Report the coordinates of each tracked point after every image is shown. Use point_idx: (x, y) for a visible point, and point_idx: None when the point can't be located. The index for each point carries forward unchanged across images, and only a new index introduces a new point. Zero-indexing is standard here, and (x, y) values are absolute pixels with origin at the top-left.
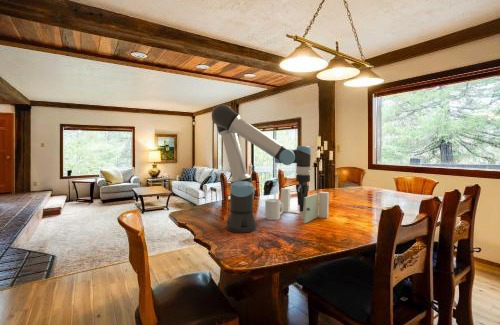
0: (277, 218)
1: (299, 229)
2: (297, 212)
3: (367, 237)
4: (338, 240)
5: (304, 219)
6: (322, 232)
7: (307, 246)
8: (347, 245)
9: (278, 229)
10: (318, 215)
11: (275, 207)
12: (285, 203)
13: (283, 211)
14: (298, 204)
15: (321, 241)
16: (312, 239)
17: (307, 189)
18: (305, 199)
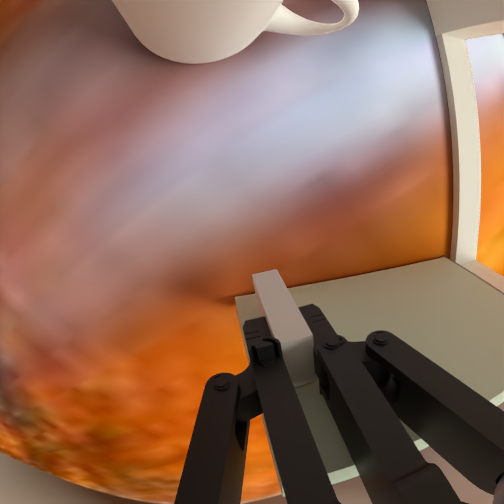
0: (184, 62)
1: (108, 340)
2: (459, 108)
3: (252, 495)
4: (143, 475)
5: (239, 321)
6: (174, 426)
7: (11, 430)
8: (130, 491)
9: (5, 250)
10: (460, 262)
11: (141, 18)
12: (477, 2)
13: (428, 3)
14: (213, 381)
15: (80, 450)
16: (64, 428)
17: (484, 487)
18: (277, 476)
